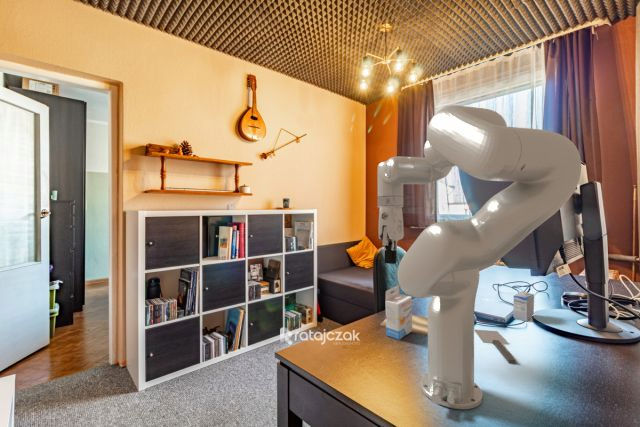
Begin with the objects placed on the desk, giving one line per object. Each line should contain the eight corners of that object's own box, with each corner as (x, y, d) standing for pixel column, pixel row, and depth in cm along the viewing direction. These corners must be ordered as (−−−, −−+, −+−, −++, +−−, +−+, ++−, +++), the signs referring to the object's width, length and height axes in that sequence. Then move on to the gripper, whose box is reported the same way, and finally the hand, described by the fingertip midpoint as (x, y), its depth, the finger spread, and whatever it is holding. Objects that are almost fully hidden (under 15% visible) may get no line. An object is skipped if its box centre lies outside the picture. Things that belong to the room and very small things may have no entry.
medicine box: (520, 313, 115) (520, 291, 115) (534, 316, 111) (534, 293, 111) (513, 318, 110) (513, 295, 110) (527, 322, 106) (527, 298, 106)
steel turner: (527, 364, 77) (527, 361, 77) (497, 362, 79) (497, 358, 79) (497, 332, 98) (497, 329, 98) (474, 330, 99) (474, 327, 99)
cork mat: (427, 335, 96) (427, 333, 96) (380, 325, 104) (380, 324, 104) (436, 320, 108) (436, 319, 108) (393, 312, 117) (393, 311, 117)
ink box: (399, 340, 92) (398, 294, 91) (385, 335, 96) (384, 291, 95) (413, 330, 98) (412, 287, 97) (399, 326, 102) (398, 284, 101)
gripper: (394, 202, 81) (394, 268, 82) (409, 202, 94) (409, 260, 94) (369, 202, 85) (369, 266, 86) (386, 203, 98) (387, 258, 98)
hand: (390, 263), depth 90 cm, fingers closed
